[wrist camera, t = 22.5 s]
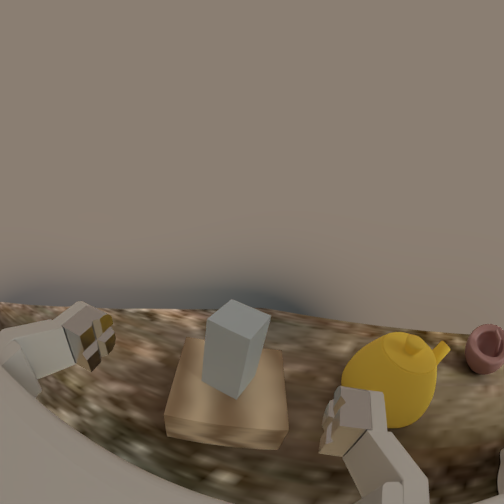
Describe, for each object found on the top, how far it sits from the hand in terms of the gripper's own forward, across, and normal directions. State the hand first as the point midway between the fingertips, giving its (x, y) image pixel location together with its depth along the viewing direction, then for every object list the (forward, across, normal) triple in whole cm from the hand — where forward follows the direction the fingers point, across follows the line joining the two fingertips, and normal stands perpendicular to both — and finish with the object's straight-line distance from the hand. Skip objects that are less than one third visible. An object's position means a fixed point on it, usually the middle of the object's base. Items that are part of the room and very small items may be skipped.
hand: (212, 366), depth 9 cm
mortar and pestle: (+37, -50, +28) cm, 68 cm away
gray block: (+17, +3, +21) cm, 27 cm away
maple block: (+17, +3, +27) cm, 32 cm away
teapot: (+25, -22, +27) cm, 43 cm away
